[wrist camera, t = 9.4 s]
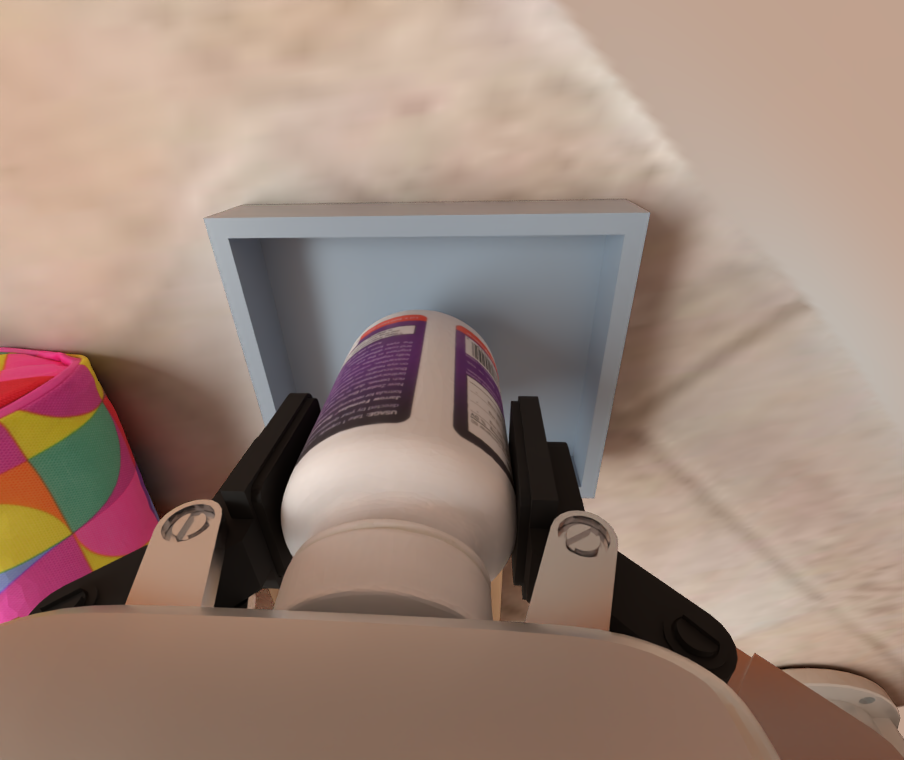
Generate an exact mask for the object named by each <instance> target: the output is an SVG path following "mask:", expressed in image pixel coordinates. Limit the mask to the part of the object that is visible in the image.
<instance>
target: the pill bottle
mask: <svg viewBox="0 0 904 760" xmlns="http://www.w3.org/2000/svg"><path fill="white" fill-rule="evenodd" d="M281 526H282V531H283V535H284V539H285V542H286V545H287V547H288V549H289V551H290V553H291V555H292V556H293V558H292V560H291V563H290V564H289V566H288V568H287V570H286V572H285V575H284V577H283V580H282V583H281V586H280V589H279V592H278V595H277V598H276V601H275V604H274V607H273V610H290V611H312V612H334V613H355V614H376V615H397V616H416V617H435V618H455V619H474V620H493V615H492V604H491V602H492V599H491V582H492V581H493V580H494V579H495V578H496V577H497V575H498V574H499V573H500V572H501V571H502V569H503V568H504V566H505V565H506V563H507V561H508V560H509V558H510V556H511V554H512V551H513V549H514V545H515V542H516V532H517V506H516V494H515V487H514V480H513V473H512V466H511V459H510V453H509V445H508V439H507V432H506V424H505V417H504V411H503V404H502V397H501V391H500V385H499V377H498V373H497V368H496V364H495V361H494V358H493V356H492V353H491V351H490V349H489V347H488V346H487V344H486V343H485V341H484V340H483V339H482V338H481V336H480V335H479V334H478V333H477V332H476V331H475V330H474V329H472V328H471V327H470V326H468V325H467V324H465V323H464V322H462V321H460V320H459V319H457V318H455V317H452V316H450V315H447V314H444V313H441V312H437V311H431V310H407V311H402V312H397V313H394V314H391V315H388V316H386V317H383V318H381V319H380V320H378V321H376V322H375V323H373V324H372V325H370V326H369V327H368V328H367V329H366V330H365V331H364V332H363V333H362V334H361V335H360V336H359V338H358V339H357V340H356V342H355V343H354V345H353V346H352V348H351V350H350V352H349V354H348V356H347V357H346V359H345V362H344V364H343V366H342V368H341V370H340V372H339V374H338V377H337V379H336V381H335V383H334V385H333V387H332V390H331V392H330V394H329V396H328V398H327V400H326V402H325V404H324V406H323V408H322V410H321V412H320V414H319V417H318V419H317V421H316V423H315V425H314V427H313V429H312V431H311V433H310V435H309V437H308V439H307V442H306V444H305V446H304V448H303V450H302V452H301V454H300V456H299V458H298V460H297V462H296V465H295V467H294V469H293V471H292V473H291V475H290V478H289V481H288V484H287V486H286V489H285V493H284V496H283V500H282V505H281Z"/></svg>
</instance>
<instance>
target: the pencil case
mask: <svg viewBox="0 0 904 760" xmlns="http://www.w3.org/2000/svg"><path fill="white" fill-rule="evenodd" d="M159 521H160V519H159V516H158V514H157V512H156V510H155V507H154V505H153V503H152V500H151V498H150V495H149V493H148V491H147V489H146V487H145V485H144V482H143V479H142V476H141V473H140V471H139V468H138V466H137V464H136V461H135V459H134V456H133V454H132V451H131V449H130V446H129V443H128V441H127V438H126V436H125V433H124V430H123V428H122V425H121V423H120V421H119V418H118V415H117V413H116V411H115V409H114V407H113V405H112V404H111V402H110V401H109V399H108V398H107V396H106V394H105V392H104V390H103V388H102V386H101V384H100V383H99V381H98V379H97V377H96V375H95V373H94V371H93V369H92V367H91V365H90V362H89V360H88V358H87V357H85V356H83V355H74V354H65V353H61V352H51V351H36V350H29V349H19V348H9V347H0V624H1V623H4V622H8V621H10V620H12V619H15V618H17V617H20V618H22V617H25V616H29V614H30V612H31V611H32V610H33V609H34V608H35V607H36V606H37V605H38V604H39V603H40V602H41V601H42V600H43V599H45V598H46V597H47V596H48V595H50V594H51V593H53V592H54V591H56V590H58V589H59V588H61V587H63V586H65V585H67V584H69V583H71V582H73V581H75V580H77V579H79V578H81V577H83V576H85V575H87V574H89V573H91V572H93V571H95V570H97V569H99V568H101V567H103V566H105V565H107V564H109V563H111V562H113V561H115V560H117V559H119V558H121V557H123V556H125V555H127V554H129V553H131V552H133V551H135V550H137V549H139V548H141V547H143V546H145V545H147V544H149V542H150V539H151V536H152V534H153V531H154V529H155V527H156V525H157V524H158V522H159Z"/></svg>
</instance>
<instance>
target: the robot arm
mask: <svg viewBox="0 0 904 760" xmlns="http://www.w3.org/2000/svg"><path fill="white" fill-rule="evenodd" d="M320 412H321V410H320V405H319V401H318V399H317V398H313V397H312V395H311V394H310V393H290V394H289V395H288V396H287V397H286V399H285V400H284V401H283V403H282V404H281V406H280V407H279V409H278V410H277V411H276V413H275V414H274V416H273V417H272V418H271V420H270V421H269V423H268V424H267V426H266V427H265V428H264V430H263V431H262V433H261V434H260V435H259V437H257V438H256V439H255V440H254V442H253V443H252V445H251V446H250V447H249V449H248V450H247V452H246V453H245V454H244V456H243V457H242V459H241V460H240V461H239V463H238V464H237V466H236V467H235V468H234V470H233V471H232V473H231V474H230V476H229V477H228V478H227V480H226V481H225V483H224V484H223V485H222V487H221V488H220V490H219V491H218V492H217V494H216V495H215V497H214V498H213V499H212V500H207V499H202V500H194V501H191V502H187V503H184V504H182V505H180V506H178V507H176V508H174V509H173V510H171V511H170V512H168V513H167V514H166V515H165V516H164V517H163V518H162V519H161V520H160V521H159V522H158V524H157V525H156V527H155V529H154V531H153V534H152V536H151V539H150V542H149V544H147V545H145V546H143V547H141V548H139V549H137V550H135V551H133V552H131V553H129V554H127V555H125V556H123V557H121V558H119V559H117V560H115V561H113V562H111V563H109V564H107V565H105V566H103V567H101V568H99V569H97V570H95V571H93V572H91V573H89V574H87V575H85V576H83V577H81V578H79V579H77V580H75V581H73V582H71V583H69V584H67V585H65V586H63V587H61V588H59V589H58V590H56V591H54V592H53V593H51V594H50V595H48V596H47V597H46V598H45V599H43V600H42V601H41V602H40V603H39V604H38V605H37V606H36V607H35V608H34V609H33V610H32V611H31V612H30V614H29V616H25V617H22V618H20V617H17V618H15V619H12V620H10V621H8V622H4V623H1V624H0V760H904V739H903V738H902V736H901V734H900V733H899V731H898V730H897V728H898V725H899V721H900V715H899V711H898V709H897V707H896V706H895V704H894V703H893V701H892V700H891V699H890V697H889V696H888V694H887V693H886V691H885V690H883V689H882V688H881V687H880V686H879V685H878V684H876V683H874V682H872V681H870V680H868V679H866V678H864V677H862V676H858V675H855V674H852V673H848V672H844V671H838V670H831V669H818V668H796V669H783V670H781V669H779V668H777V667H776V666H774V665H773V664H771V663H770V662H768V661H767V660H765V659H763V658H762V657H760V656H759V655H757V654H756V653H754V655H753V656H752V657H750V656H749V655H747V654H746V653H744V652H743V651H741V650H739V649H738V648H736V646H735V644H734V642H733V640H732V638H731V636H730V634H729V633H728V632H727V631H726V629H725V628H724V627H723V625H722V624H721V623H720V622H718V621H717V620H716V619H715V618H714V617H712V616H711V615H710V614H708V613H707V612H706V611H704V610H703V609H701V608H700V607H698V606H697V605H695V604H694V603H692V602H691V601H690V600H688V599H687V598H685V597H684V596H682V595H681V594H679V593H678V592H676V591H675V590H674V589H672V588H671V587H669V586H668V585H666V584H665V583H663V582H662V581H660V580H659V579H658V578H656V577H655V576H653V575H652V574H650V573H649V572H647V571H646V570H644V569H643V568H642V567H640V566H639V565H637V564H636V563H634V562H633V561H631V560H630V559H628V558H627V557H626V556H624V555H623V554H621V553H620V552H618V539H617V535H616V533H615V531H614V529H613V528H612V527H611V526H610V525H609V524H608V523H607V522H606V521H605V520H603V519H602V518H600V517H599V516H597V515H595V514H592V513H590V512H585V510H584V506H583V502H582V498H581V494H580V490H579V487H578V483H577V479H576V475H575V471H574V467H573V463H572V459H571V455H570V452H569V448H568V445H567V443H566V442H547V439H546V434H545V429H544V424H543V419H542V414H541V409H540V403H539V398H538V396H518V401H511V407H510V426H509V444H508V445H509V453H510V459H511V466H512V473H513V480H514V487H515V494H516V506H517V532H516V542H515V545H514V549H513V551H512V569H513V583H514V585H521V586H522V597H523V599H524V600H527V602H529V603H530V605H529V608H528V612H527V616H526V619H525V623H523V622H508V621H493V620H474V619H455V618H435V617H416V616H397V615H376V614H355V613H334V612H312V611H290V610H267V609H255V602H256V593H257V592H258V591H260V590H261V589H262V588H270V589H280V586H281V583H282V580H283V577H284V575H285V572H286V570H287V568H288V566H289V564H290V563H291V560H292V558H293V556H292V555H291V553H290V551H289V549H288V547H287V545H286V542H285V539H284V535H283V531H282V526H281V505H282V500H283V496H284V493H285V489H286V486H287V484H288V481H289V478H290V475H291V473H292V471H293V469H294V467H295V465H296V462H297V460H298V458H299V456H300V454H301V452H302V450H303V448H304V446H305V444H306V442H307V439H308V437H309V435H310V433H311V431H312V429H313V427H314V425H315V423H316V421H317V419H318V417H319V414H320Z"/></svg>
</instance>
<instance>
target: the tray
mask: <svg viewBox="0 0 904 760" xmlns="http://www.w3.org/2000/svg"><path fill="white" fill-rule="evenodd" d="M649 217H650V212H648V211H647V210H645V209H643V208H641V207H639V206H638V205H636V204H634V203H632V202H630V201H629V200H627V199H606V200H539V201H471V202H404V203H336V204H269V205H240V206H237V207H234V208H231V209H229V210H226V211H223V212H220V213H217V214H214V215H211V216H208V217H206V218H203V219H204V222H205V225H206V229H207V232H208V235H209V239H210V242H211V245H212V249H213V252H214V256H215V259H216V262H217V266H218V269H219V272H220V276H221V279H222V282H223V286H224V289H225V293H226V296H227V299H228V303H229V306H230V309H231V313H232V316H233V319H234V323H235V326H236V330H237V333H238V336H239V340H240V343H241V346H242V350H243V353H244V356H245V360H246V363H247V367H248V370H249V373H250V377H251V380H252V383H253V387H254V390H255V393H256V397H257V400H258V404H259V407H260V410H261V414H262V417H263V420H264V424H265V427H266V426H267V424H268V423H269V421H270V420H271V418H272V417H273V416H274V414H275V413H276V411H277V410H278V409H279V407H280V406H281V404H282V403H283V401H284V400H285V399H286V397H287V396H288V395H289V394H290V393H310V394H311V395H312V397H313V398H317V399H318V401H319V405H320V410H322V408H323V406H324V404H325V402H326V400H327V398H328V396H329V394H330V392H331V390H332V387H333V385H334V383H335V381H336V379H337V377H338V374H339V372H340V370H341V368H342V366H343V364H344V362H345V359H346V357H347V356H348V354H349V352H350V350H351V348H352V346H353V345H354V343H355V342H356V340H357V339H358V338H359V336H360V335H361V334H362V333H363V332H364V331H365V330H366V329H367V328H368V327H369V326H370V325H372V324H373V323H375V322H376V321H378V320H380V319H381V318H383V317H386V316H388V315H391V314H394V313H397V312H402V311H407V310H431V311H437V312H441V313H444V314H447V315H450V316H452V317H455V318H457V319H459V320H460V321H462V322H464V323H465V324H467V325H468V326H470V327H471V328H472V329H474V330H475V331H476V332H477V333H478V334H479V335H480V336H481V338H482V339H483V340H484V341H485V343H486V344H487V346H488V347H489V349H490V351H491V353H492V356H493V358H494V361H495V364H496V368H497V373H498V377H499V385H500V391H501V397H502V404H503V411H504V417H505V424H506V432H507V439H508V444H509V426H510V407H511V401H518V396H538V398H539V403H540V409H541V414H542V419H543V424H544V429H545V434H546V439H547V442H566V443H567V445H568V448H569V452H570V455H571V459H572V463H573V467H574V471H575V475H576V479H577V483H578V487H579V490H580V494H581V498H594V497H595V492H596V487H597V482H598V477H599V472H600V467H601V461H602V456H603V451H604V446H605V441H606V436H607V431H608V426H609V421H610V416H611V410H612V405H613V400H614V395H615V390H616V385H617V380H618V375H619V370H620V365H621V359H622V354H623V349H624V344H625V339H626V334H627V329H628V324H629V319H630V314H631V308H632V303H633V298H634V293H635V288H636V283H637V278H638V273H639V268H640V263H641V257H642V252H643V247H644V242H645V237H646V232H647V227H648V222H649Z"/></svg>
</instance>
